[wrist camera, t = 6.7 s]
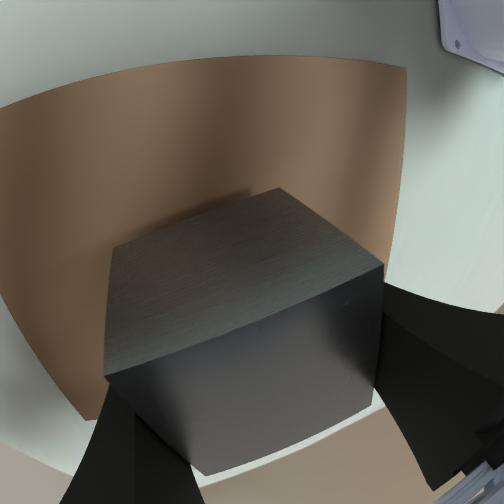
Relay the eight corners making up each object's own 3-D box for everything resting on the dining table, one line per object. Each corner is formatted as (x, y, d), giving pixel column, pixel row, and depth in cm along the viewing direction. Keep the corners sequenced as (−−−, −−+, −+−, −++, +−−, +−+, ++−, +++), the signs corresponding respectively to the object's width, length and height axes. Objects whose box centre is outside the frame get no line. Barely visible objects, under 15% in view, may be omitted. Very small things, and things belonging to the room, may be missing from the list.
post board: (390, 66, 11) (475, 76, 7) (361, 331, 19) (403, 380, 15) (-40, 129, 7) (-115, 162, 3) (85, 406, 14) (88, 476, 11)
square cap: (279, 187, 10) (384, 263, 6) (302, 312, 13) (371, 405, 8) (113, 247, 9) (103, 376, 5) (176, 363, 12) (205, 476, 7)
